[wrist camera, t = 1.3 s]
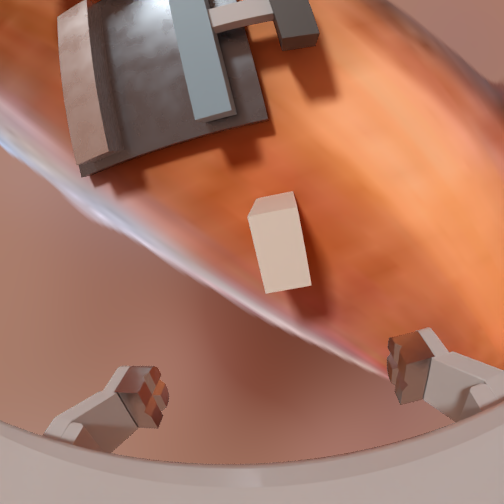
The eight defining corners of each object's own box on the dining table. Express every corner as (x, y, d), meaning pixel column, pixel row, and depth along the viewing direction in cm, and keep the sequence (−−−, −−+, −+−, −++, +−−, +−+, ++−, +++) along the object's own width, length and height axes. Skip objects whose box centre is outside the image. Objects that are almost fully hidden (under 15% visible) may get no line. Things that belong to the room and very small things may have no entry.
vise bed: (223, -40, 20) (215, -61, 16) (268, 120, 26) (266, 115, 22) (66, 28, 23) (44, 19, 19) (89, 175, 29) (64, 181, 25)
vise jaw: (278, -53, 18) (277, -70, 15) (329, 96, 23) (336, 89, 20) (170, -26, 20) (159, -41, 16) (204, 123, 25) (193, 119, 22)
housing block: (292, 191, 28) (297, 206, 21) (304, 250, 30) (311, 285, 22) (256, 198, 29) (247, 216, 21) (269, 257, 31) (265, 293, 23)
